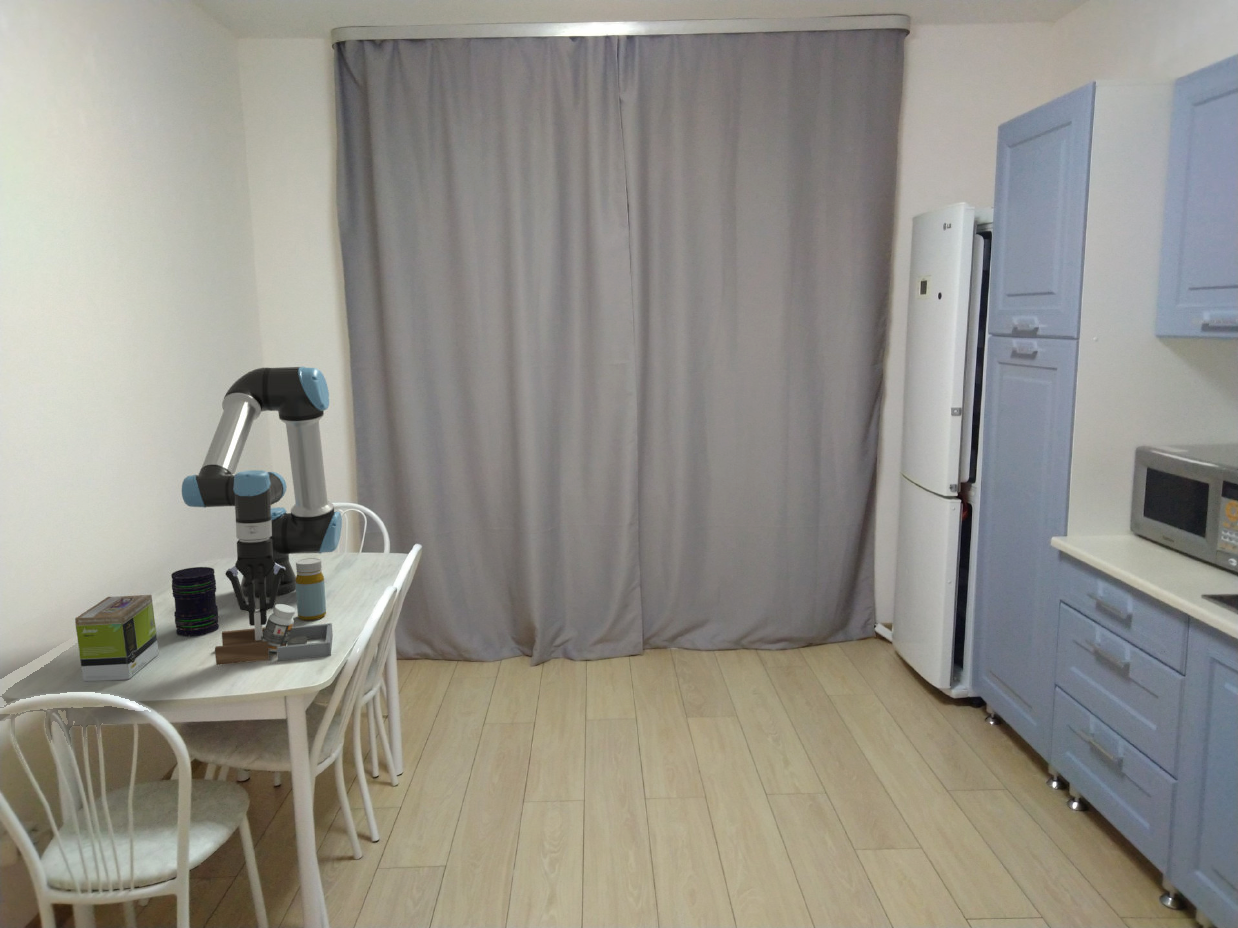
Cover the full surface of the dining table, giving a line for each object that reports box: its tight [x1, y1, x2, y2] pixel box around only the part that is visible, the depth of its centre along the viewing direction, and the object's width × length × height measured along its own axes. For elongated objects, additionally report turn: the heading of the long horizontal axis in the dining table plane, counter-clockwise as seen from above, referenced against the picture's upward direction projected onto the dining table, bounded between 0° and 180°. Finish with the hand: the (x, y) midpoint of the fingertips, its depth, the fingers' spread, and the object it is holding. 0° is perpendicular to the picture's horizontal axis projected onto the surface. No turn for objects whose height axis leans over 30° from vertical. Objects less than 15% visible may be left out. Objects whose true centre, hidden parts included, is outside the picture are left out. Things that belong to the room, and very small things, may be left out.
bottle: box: [295, 557, 327, 621], centre depth 227 cm, size 7×7×15 cm
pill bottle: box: [261, 603, 296, 653], centre depth 204 cm, size 6×6×10 cm
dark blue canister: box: [170, 566, 220, 638], centre depth 218 cm, size 10×10×15 cm
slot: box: [214, 626, 270, 666], centre depth 203 cm, size 11×11×4 cm
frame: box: [276, 622, 334, 662], centre depth 207 cm, size 14×12×3 cm
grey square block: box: [286, 636, 308, 646], centre depth 205 cm, size 4×4×2 cm
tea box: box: [74, 594, 159, 683], centre depth 194 cm, size 15×10×15 cm, turn 5°
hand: (259, 638), depth 203 cm, fingers closed
